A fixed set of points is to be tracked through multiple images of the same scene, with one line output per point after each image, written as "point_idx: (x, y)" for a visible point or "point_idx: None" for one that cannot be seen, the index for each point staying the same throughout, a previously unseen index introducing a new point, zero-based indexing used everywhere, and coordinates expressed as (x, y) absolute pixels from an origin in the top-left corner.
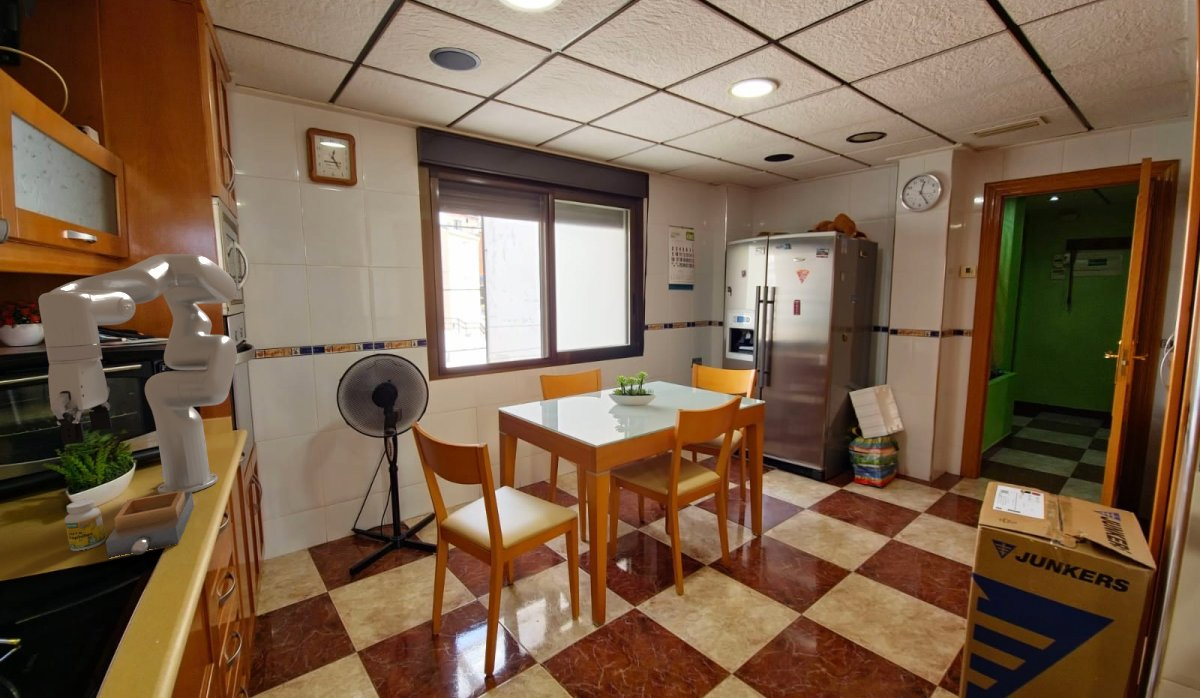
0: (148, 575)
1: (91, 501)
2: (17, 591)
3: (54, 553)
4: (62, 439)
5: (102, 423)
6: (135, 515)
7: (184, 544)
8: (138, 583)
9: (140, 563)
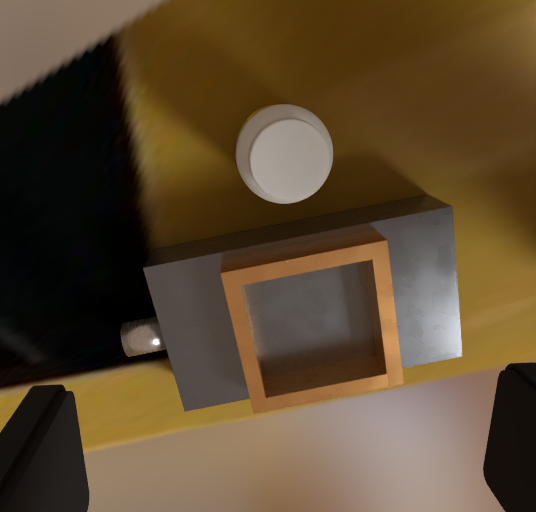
0: (41, 376)
1: (292, 197)
2: (36, 99)
3: (251, 70)
4: (21, 411)
5: (516, 480)
6: (232, 322)
7: None
8: (8, 370)
9: (110, 333)
